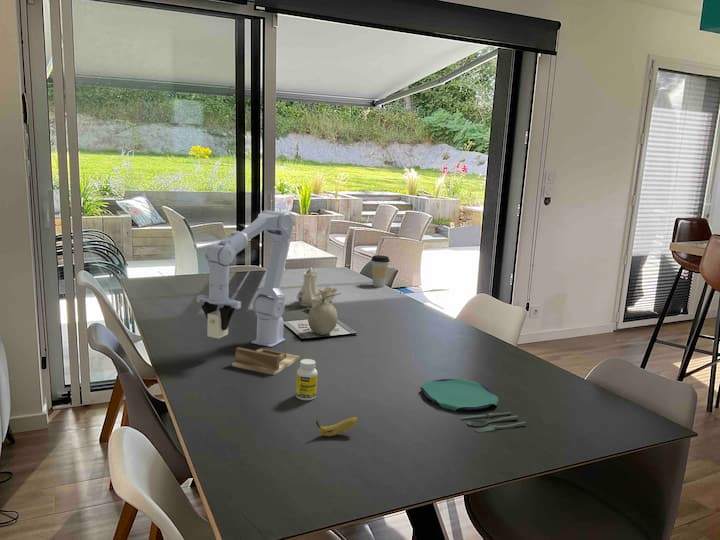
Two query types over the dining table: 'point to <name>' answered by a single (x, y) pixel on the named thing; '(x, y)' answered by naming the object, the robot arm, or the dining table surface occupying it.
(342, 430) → the banana
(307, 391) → the supplement bottle
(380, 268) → the coffee cup
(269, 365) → the board
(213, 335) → the cabinet block
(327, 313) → the fruit
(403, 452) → the dining table surface
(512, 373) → the dining table surface
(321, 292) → the chinaware
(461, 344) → the dining table surface
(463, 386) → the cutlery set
